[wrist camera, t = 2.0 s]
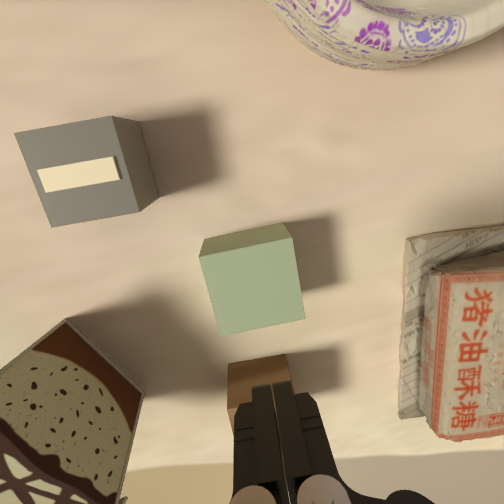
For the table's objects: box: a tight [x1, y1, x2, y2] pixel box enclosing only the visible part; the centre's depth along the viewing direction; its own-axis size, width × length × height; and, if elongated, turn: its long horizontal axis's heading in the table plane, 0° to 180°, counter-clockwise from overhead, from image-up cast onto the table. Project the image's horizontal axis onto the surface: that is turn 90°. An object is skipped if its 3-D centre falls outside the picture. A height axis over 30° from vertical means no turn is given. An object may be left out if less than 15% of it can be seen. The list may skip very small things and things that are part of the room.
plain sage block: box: [199, 223, 305, 336], centre depth 23 cm, size 6×6×4 cm
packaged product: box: [398, 225, 504, 442], centre depth 25 cm, size 18×5×10 cm
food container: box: [0, 318, 145, 504], centre depth 22 cm, size 12×6×10 cm, turn 35°
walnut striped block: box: [227, 354, 295, 435], centre depth 26 cm, size 5×5×5 cm
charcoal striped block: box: [14, 116, 159, 228], centre depth 19 cm, size 5×5×5 cm
